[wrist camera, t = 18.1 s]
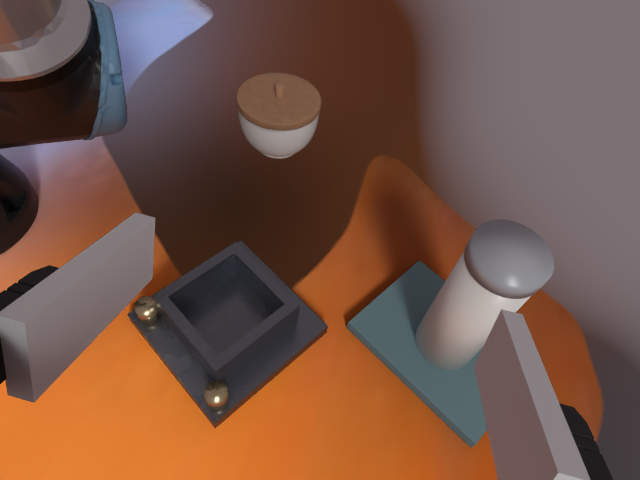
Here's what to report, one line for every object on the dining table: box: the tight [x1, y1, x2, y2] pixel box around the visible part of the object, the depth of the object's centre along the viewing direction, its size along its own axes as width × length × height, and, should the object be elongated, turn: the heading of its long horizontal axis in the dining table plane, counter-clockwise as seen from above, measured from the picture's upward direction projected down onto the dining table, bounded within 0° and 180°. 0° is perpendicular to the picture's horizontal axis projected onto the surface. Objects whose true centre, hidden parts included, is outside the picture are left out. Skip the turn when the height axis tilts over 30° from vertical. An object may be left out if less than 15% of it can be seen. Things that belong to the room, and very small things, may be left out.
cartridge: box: [415, 220, 554, 370], centre depth 40 cm, size 6×6×16 cm
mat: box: [346, 260, 487, 447], centre depth 47 cm, size 16×12×1 cm
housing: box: [128, 241, 328, 428], centre depth 44 cm, size 14×14×6 cm
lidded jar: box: [236, 73, 321, 159], centre depth 60 cm, size 11×11×9 cm
